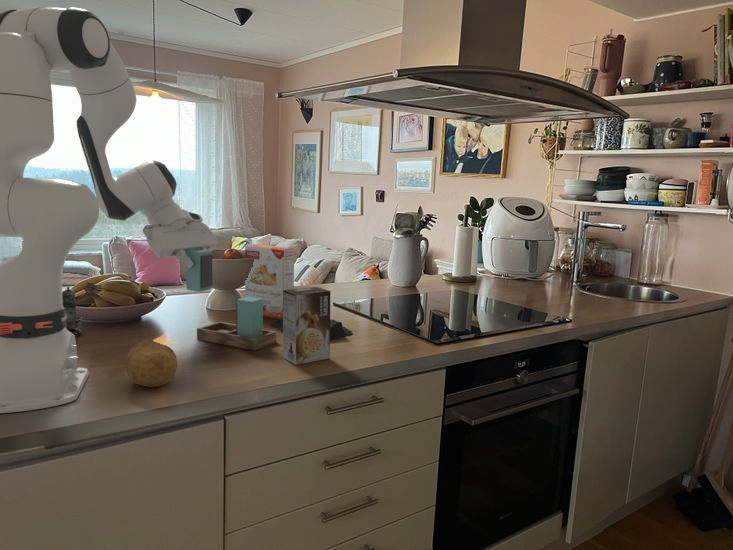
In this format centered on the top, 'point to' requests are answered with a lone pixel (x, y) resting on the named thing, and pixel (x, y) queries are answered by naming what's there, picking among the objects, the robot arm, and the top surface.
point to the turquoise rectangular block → (249, 317)
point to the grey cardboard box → (306, 325)
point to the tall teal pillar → (199, 270)
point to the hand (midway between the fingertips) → (200, 264)
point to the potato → (151, 364)
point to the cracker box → (270, 276)
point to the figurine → (71, 311)
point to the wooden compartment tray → (234, 336)
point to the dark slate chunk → (335, 329)
